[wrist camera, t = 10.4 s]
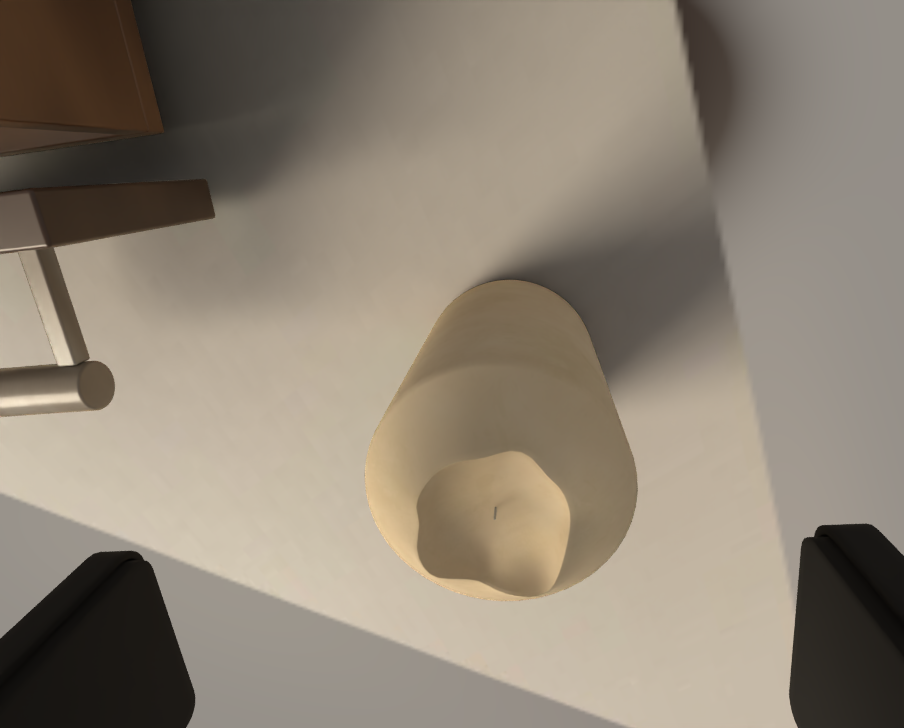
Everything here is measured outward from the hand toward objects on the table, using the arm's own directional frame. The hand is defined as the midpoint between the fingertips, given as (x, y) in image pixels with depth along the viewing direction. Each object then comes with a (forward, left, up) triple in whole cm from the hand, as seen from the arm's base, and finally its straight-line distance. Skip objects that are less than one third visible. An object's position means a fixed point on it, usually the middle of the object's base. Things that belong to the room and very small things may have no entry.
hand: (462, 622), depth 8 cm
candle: (0, 0, -12) cm, 12 cm away
